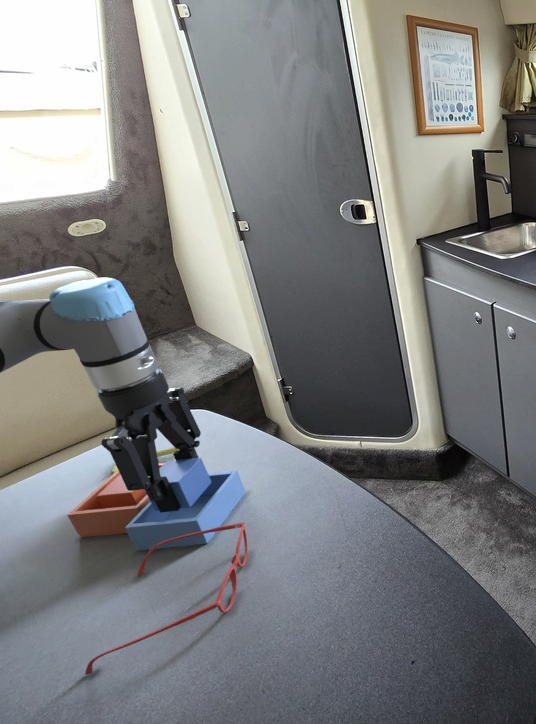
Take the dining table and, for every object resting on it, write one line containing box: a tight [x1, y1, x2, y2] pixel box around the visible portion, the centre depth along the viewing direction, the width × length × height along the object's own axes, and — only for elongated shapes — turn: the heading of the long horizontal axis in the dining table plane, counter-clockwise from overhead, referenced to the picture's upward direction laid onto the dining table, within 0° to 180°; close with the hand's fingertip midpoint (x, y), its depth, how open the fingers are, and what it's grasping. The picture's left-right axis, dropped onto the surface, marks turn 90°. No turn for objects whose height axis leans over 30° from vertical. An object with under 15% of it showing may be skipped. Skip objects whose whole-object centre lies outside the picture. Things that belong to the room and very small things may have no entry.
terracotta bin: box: [66, 462, 165, 538], centre depth 87 cm, size 11×11×5 cm
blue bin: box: [125, 470, 247, 552], centre depth 84 cm, size 11×11×5 cm
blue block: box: [144, 457, 211, 511], centre depth 82 cm, size 6×6×6 cm
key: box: [111, 446, 180, 475], centre depth 100 cm, size 7×12×2 cm, turn 122°
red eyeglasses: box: [84, 521, 248, 675], centre depth 71 cm, size 17×16×5 cm
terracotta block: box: [97, 475, 147, 509], centre depth 87 cm, size 6×6×6 cm
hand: (183, 494), depth 83 cm, fingers closed on blue block, 5 cm apart
